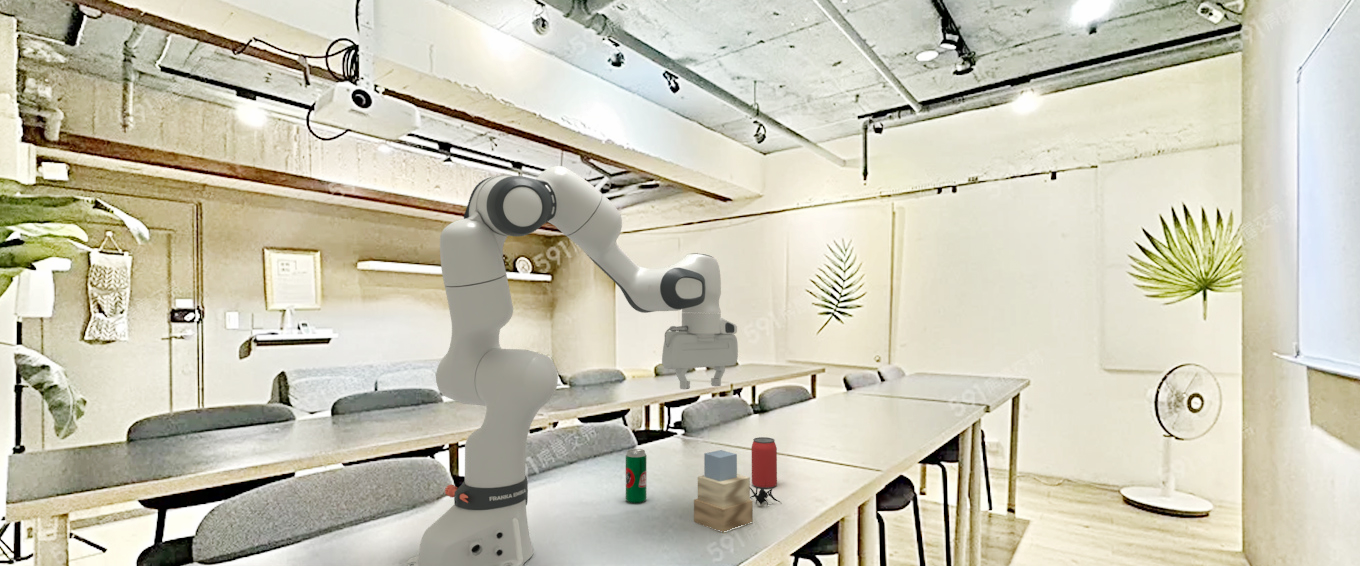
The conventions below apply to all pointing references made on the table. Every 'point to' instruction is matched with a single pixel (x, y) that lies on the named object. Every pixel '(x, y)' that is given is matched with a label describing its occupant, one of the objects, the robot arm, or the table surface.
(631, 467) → the soda can
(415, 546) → the table surface
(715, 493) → the block upper
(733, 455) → the blue gray block
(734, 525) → the block lower
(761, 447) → the beer can
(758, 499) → the creature
